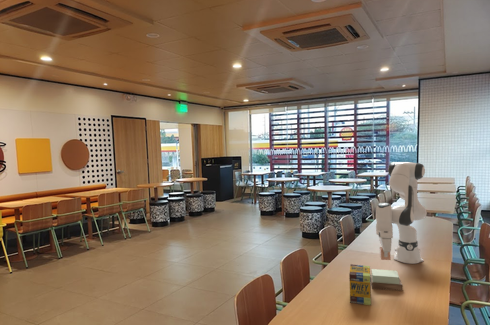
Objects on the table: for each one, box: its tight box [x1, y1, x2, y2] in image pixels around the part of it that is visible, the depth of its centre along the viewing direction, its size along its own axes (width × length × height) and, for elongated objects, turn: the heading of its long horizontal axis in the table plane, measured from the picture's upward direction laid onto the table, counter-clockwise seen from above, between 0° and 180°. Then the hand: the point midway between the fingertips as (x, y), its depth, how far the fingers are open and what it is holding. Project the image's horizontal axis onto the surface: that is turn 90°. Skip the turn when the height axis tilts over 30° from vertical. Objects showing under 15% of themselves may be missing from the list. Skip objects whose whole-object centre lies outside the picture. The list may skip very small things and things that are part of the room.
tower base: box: [370, 274, 404, 292], centre depth 190 cm, size 12×16×4 cm
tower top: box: [371, 268, 400, 284], centre depth 189 cm, size 10×14×4 cm
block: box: [379, 246, 391, 261], centre depth 188 cm, size 5×5×6 cm
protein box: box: [348, 263, 372, 306], centre depth 175 cm, size 10×15×16 cm
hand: (385, 254), depth 188 cm, fingers closed on block, 5 cm apart
